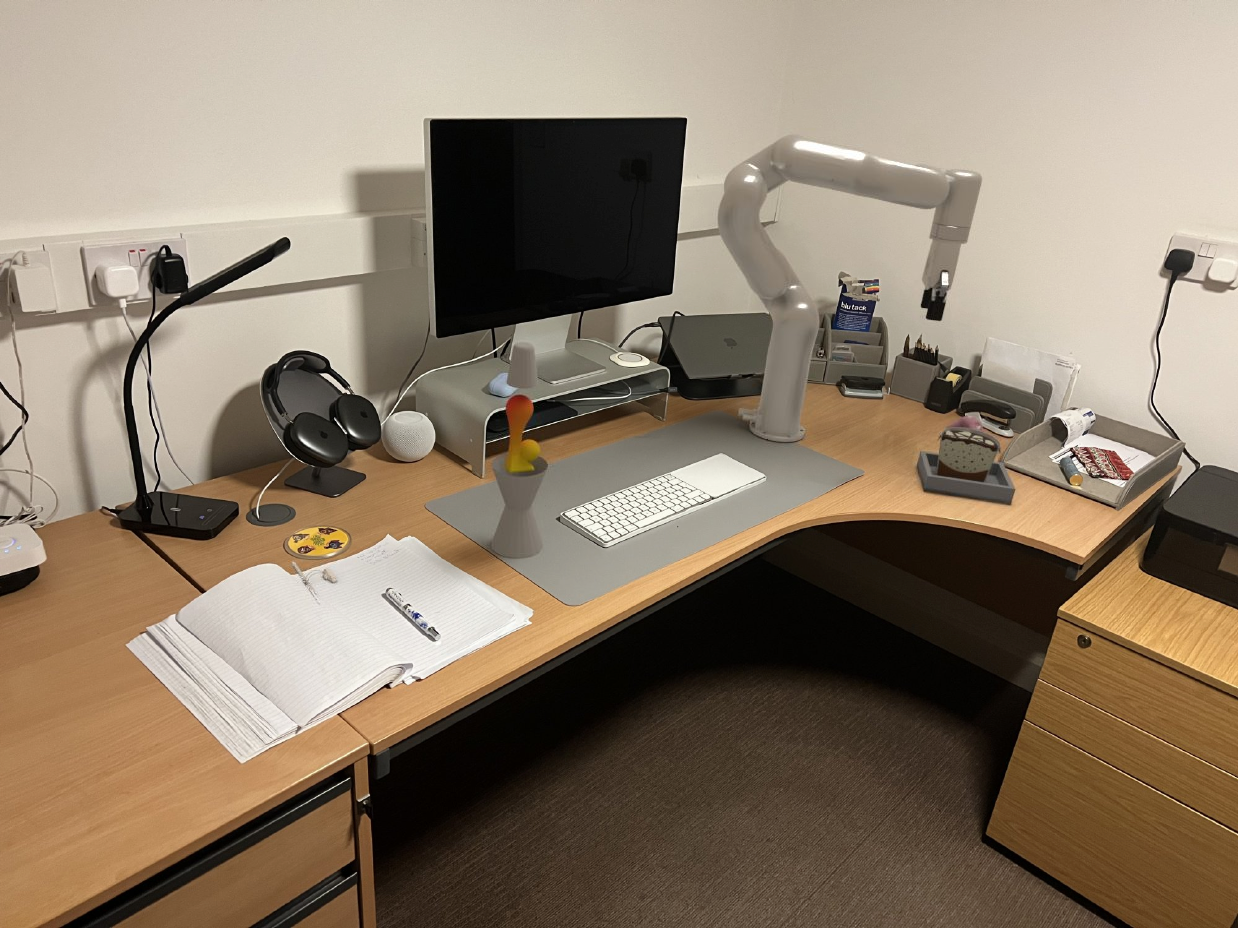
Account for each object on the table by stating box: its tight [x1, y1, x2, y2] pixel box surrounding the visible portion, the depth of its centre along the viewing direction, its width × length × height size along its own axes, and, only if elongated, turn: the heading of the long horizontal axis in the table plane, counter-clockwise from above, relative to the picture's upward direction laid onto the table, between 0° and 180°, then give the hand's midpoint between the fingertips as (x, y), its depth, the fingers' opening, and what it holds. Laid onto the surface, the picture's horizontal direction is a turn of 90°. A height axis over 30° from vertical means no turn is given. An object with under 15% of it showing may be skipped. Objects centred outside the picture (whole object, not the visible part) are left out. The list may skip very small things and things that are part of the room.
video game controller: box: [945, 415, 986, 433], centre depth 204 cm, size 10×5×7 cm, turn 0°
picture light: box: [291, 561, 338, 595], centre depth 133 cm, size 14×4×2 cm, turn 36°
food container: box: [936, 427, 1002, 483], centre depth 183 cm, size 12×6×10 cm, turn 67°
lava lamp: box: [490, 341, 549, 559], centre depth 140 cm, size 9×9×35 cm
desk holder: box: [916, 450, 1016, 505], centre depth 182 cm, size 17×13×4 cm
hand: (930, 314), depth 188 cm, fingers open, 9 cm apart
